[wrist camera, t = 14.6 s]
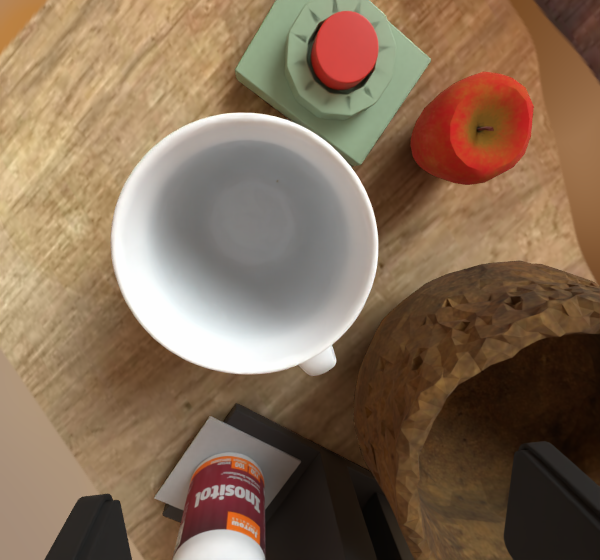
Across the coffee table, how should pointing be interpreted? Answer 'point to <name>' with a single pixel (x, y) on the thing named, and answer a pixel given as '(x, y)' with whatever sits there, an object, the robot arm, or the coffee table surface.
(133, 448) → the coffee table surface
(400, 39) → the control block
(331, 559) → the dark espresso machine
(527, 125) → the apple
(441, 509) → the bowl
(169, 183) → the mug
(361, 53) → the button
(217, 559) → the pill bottle
